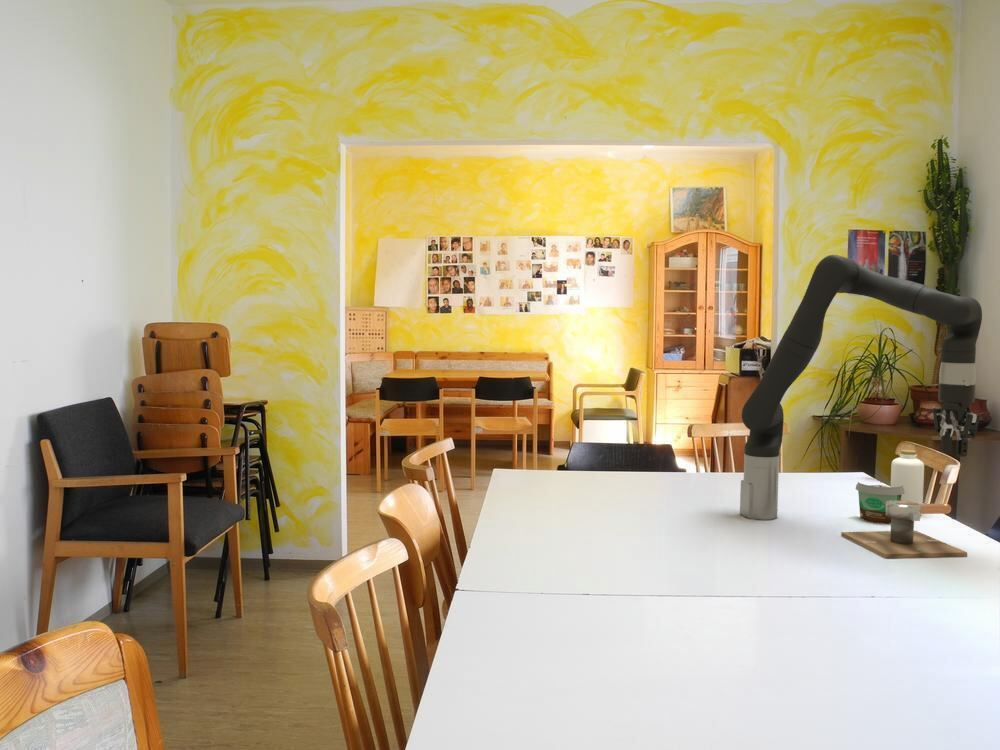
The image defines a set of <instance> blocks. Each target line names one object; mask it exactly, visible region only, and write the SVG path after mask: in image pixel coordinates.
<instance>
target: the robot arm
mask: <svg viewBox="0 0 1000 750" xmlns="http://www.w3.org/2000/svg"><path fill="white" fill-rule="evenodd" d="M837 294H850V295H857V296H858V295H859V296H862V297H863V296H865V297H868V298H872V299H875V300H879V301H881V302H883V303H886V304H887V305H889V306H892V307H896V308H897V309H899V310H903V311H906V312H910V313H911V314H912V313H913V314H915V315H920V316H924V317H926V318H928V319H930V320H933V321H935V322H937V323H939V324H943V325H945V326H949V329H948V334H947V337H946V338H945V339H944V340H943V341H942V343H941V344H942V345H941V356H940V367H939V372H938V374H939V375H938V393H937V395H938V396H937V397H938V398H937V399H938V402H941V403H942V404H941V407H934V408H933V409H932V414H933V423H934V424H933V425H934V430H935V433H936V434H937V433H938V434H939V436H940V437H941V439H940V440H941V441H940V442H941V443H940V449H941V450H940V451H941V452H942V453H946V454H947V453H952V452H953V451H952V450H953V437H952V436H953V433H954V431H955V436H956V439H957V440H956V447H955V450H956V452H955V456H957V457H960V458H963V457H967V455H968V448H969V447H968V445H969V441H970V440H975V438H976V437H977V432H978V427H979V422H980V418H981V416H980V414H979V413H973V412H972V410H971V404H974V403H975V401H976V378H977V373H976V372H977V371H976V351H977V350H976V349H977V347H976V344H977V340H978V338H979V335H980V331H981V327H982V320H983V311H982V306H981V304H980V302H979V301H978V300H977V299H976V298H974V297H970V296H962V295H961V296H959V295H956V294H955V295H953V294H951V293H946V292H942V291H940V290H938V289H937V288H934V287H933V286H929V285H925V284H924V283H923V284H922V283H919V282H915V281H912V280H909V279H903V278H900V277H899V278H898V277H894V276H888V275H885V274H882V273H879V272H877V271H874V270H872V269H869V268H867V267H865V266H863V265H862V264H859V263H857V262H856V261H854V260H853V259H851V258H849V257H844V256H842V255H838V254H830V255H827V256H825V257H823V258H822V259H821V260H820V261H819V262H818V263H817V265H816V266H815V268H814V270H813V272H812V275H811V278H810V280H809V282H808V285H807V288H806V290H805V292H804V295H803V297H802V300H801V302H800V304H799V306H798V308H797V309H796V311H795V312H794V315H793V316H792V318H791V321H790V323H789V325H788V326H787V328H786V330H785V332H784V333H783V336H782V337H781V339H780V341H779V343H778V345H777V347H776V349H775V351H774V353H773V354H772V357H771V358H770V361H769V363H768V365H767V368H766V369H765V371H764V373H763V376H762V378H761V379H760V381H759V382H758V384H757V386H756V387H755V389H754V390H753V391H752V393H751V395H750V396H749V398H747V400H746V402H745V403H744V405H743V407H742V409H741V420H742V423H743V426H745V427H746V428H747V430H749V434H748V435H749V436H748V439H747V440H746V442H745V445H744V452H743V453H744V454H743V455H744V458H743V479H742V480H740V493H739V494H740V495H739V496H740V500H739V502H740V503H739V514H740V515H741V516H743V517H745V518H747V519H752V520H753V519H754V520H775V519H777V518H778V511H779V509H778V507H779V506H778V505H779V503H778V502H779V501H778V500H779V499H778V498H779V477H780V476H779V473H780V471H779V470H780V469H779V468H780V450H781V447H782V443H783V437H784V435H783V433H784V419H785V418H784V408H783V406H782V404H781V402H782V400H783V397H784V396H785V394H786V392H787V391H788V389H789V388H790V387H791V385H793V384H794V382H795V381H796V380H797V379H798V378H799V377H800V376H801V374H803V372H804V371H805V370H806V368H807V367H808V365H809V364H810V362H811V360H812V358H813V357H814V355H815V353H816V352H817V349H818V348H819V346H820V343H821V340H822V337H823V331H824V325H825V324H824V322H825V317H826V313H827V311H828V309H829V307H830V305H831V303H833V302H832V301H833V300H834V298H835V297H836V295H837ZM970 430H971V431H970Z"/></svg>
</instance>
